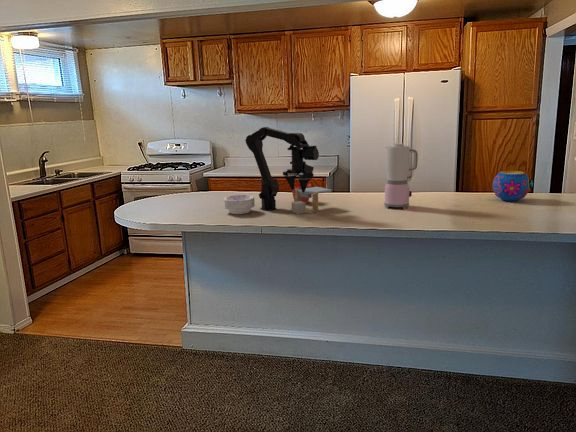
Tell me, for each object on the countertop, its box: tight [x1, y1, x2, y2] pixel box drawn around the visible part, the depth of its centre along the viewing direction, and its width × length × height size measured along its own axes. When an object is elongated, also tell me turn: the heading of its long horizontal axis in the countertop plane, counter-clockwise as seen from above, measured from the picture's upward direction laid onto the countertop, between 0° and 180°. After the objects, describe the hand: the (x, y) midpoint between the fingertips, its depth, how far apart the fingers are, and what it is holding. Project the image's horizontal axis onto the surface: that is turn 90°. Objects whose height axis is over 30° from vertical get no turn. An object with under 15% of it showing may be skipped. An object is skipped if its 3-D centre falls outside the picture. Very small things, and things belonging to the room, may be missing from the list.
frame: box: [295, 188, 319, 214], centre depth 223 cm, size 2×17×10 cm, turn 34°
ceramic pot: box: [492, 170, 534, 202], centre depth 231 cm, size 18×18×15 cm
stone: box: [291, 201, 307, 215], centre depth 219 cm, size 5×5×5 cm
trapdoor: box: [298, 186, 333, 199], centre depth 224 cm, size 13×12×3 cm
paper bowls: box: [223, 194, 256, 215], centre depth 222 cm, size 15×15×8 cm
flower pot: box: [291, 183, 312, 204], centre depth 242 cm, size 11×11×10 cm
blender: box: [383, 142, 419, 210], centre depth 221 cm, size 16×12×32 cm
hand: (298, 191), depth 218 cm, fingers open, 9 cm apart
